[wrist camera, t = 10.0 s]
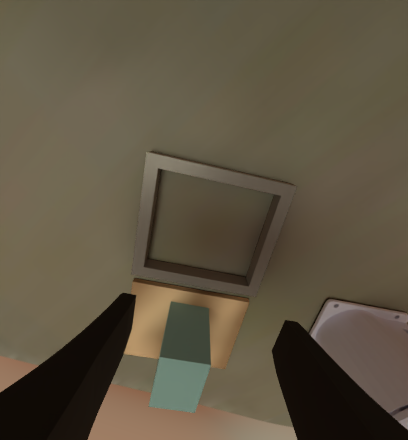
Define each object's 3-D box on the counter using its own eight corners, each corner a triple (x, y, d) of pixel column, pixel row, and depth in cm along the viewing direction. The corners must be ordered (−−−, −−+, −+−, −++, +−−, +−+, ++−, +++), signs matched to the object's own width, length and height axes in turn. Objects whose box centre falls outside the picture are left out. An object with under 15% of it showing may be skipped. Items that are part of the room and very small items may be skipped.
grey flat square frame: (290, 183, 18) (297, 186, 17) (252, 286, 22) (255, 296, 20) (151, 151, 17) (146, 151, 16) (136, 265, 21) (131, 274, 19)
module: (208, 308, 22) (211, 364, 16) (196, 349, 24) (194, 412, 18) (170, 301, 22) (159, 356, 16) (161, 343, 24) (148, 406, 18)
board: (248, 298, 22) (249, 302, 22) (224, 364, 26) (225, 368, 25) (134, 278, 21) (132, 281, 21) (125, 348, 25) (123, 353, 24)
